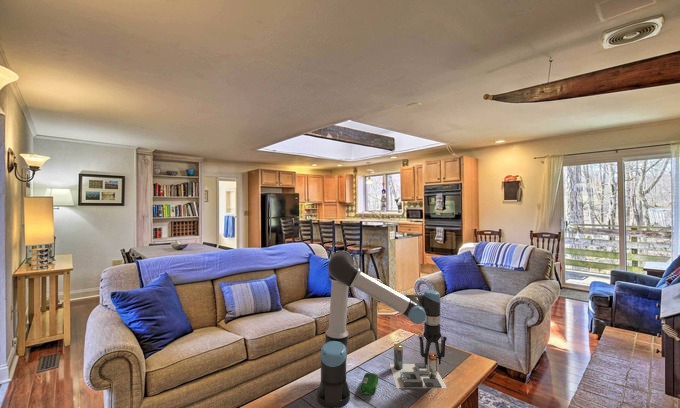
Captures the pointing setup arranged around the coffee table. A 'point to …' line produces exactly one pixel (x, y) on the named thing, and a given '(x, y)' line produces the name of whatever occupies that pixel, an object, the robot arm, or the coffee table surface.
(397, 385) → the dock board
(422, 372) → the socket
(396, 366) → the cylinder
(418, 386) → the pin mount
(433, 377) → the lock pin
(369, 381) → the snack package
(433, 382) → the pin pad
